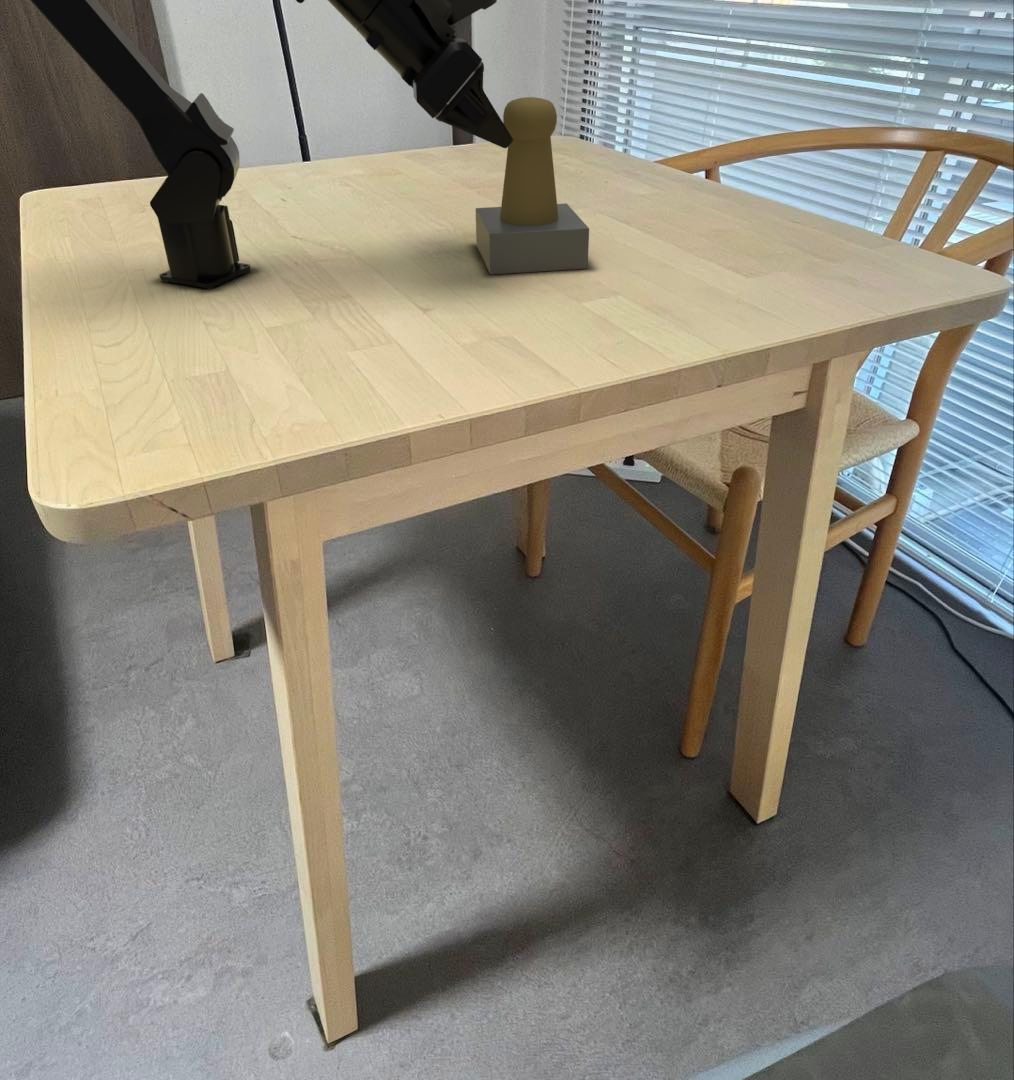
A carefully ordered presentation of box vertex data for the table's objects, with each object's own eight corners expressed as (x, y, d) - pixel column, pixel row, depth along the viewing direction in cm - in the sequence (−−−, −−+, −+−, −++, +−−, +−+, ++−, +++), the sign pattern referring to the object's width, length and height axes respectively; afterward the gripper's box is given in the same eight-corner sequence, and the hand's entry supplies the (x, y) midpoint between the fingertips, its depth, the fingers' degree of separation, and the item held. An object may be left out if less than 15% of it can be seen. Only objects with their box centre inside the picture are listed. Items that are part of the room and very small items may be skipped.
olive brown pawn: (516, 228, 85) (516, 105, 79) (489, 214, 90) (487, 96, 83) (569, 220, 88) (573, 100, 81) (540, 207, 92) (542, 92, 86)
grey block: (490, 274, 86) (489, 233, 84) (476, 246, 94) (475, 207, 92) (587, 268, 88) (589, 228, 85) (565, 240, 96) (567, 203, 93)
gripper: (451, -79, 66) (584, 80, 74) (428, -76, 81) (541, 56, 89) (357, 42, 69) (494, 181, 77) (352, 23, 84) (467, 142, 92)
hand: (501, 135), depth 84 cm, fingers open, 9 cm apart
